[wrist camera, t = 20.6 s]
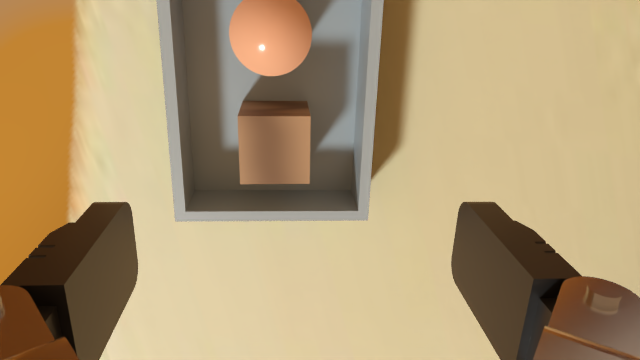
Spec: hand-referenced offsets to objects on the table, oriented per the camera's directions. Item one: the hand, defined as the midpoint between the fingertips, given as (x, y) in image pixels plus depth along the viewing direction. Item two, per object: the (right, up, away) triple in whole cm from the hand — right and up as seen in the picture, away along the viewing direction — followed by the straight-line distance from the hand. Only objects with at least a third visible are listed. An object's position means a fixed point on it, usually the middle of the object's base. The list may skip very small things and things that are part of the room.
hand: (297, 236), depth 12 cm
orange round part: (-3, +13, +24) cm, 27 cm away
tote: (-3, +9, +26) cm, 28 cm away
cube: (-3, +5, +27) cm, 28 cm away
